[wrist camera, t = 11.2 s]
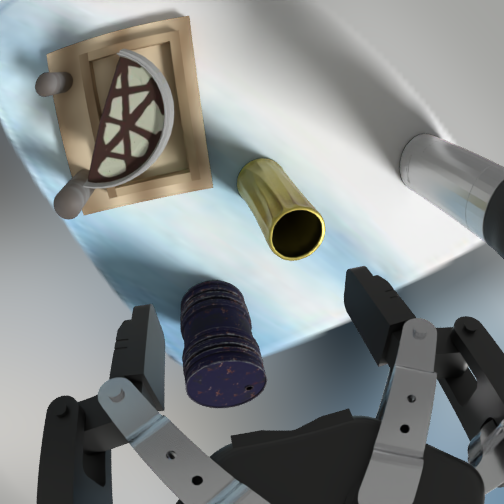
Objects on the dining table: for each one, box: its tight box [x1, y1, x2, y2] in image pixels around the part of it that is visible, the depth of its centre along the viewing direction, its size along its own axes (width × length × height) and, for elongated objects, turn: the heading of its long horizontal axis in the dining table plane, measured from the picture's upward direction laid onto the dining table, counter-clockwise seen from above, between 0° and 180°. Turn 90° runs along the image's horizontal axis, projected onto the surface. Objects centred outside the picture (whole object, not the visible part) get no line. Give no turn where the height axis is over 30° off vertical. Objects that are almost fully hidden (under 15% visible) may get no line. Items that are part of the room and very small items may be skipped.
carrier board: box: [35, 16, 213, 219], centre depth 29 cm, size 16×20×9 cm
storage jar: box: [180, 281, 267, 408], centre depth 42 cm, size 10×10×15 cm
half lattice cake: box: [83, 49, 174, 188], centre depth 27 cm, size 12×6×10 cm, turn 159°
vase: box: [237, 158, 325, 261], centre depth 34 cm, size 6×6×14 cm
